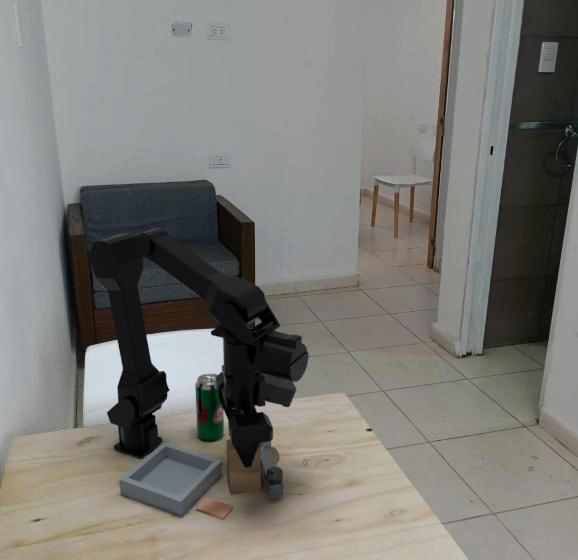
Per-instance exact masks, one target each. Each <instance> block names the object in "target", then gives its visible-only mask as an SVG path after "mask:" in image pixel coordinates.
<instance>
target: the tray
mask: <svg viewBox="0 0 578 560" xmlns="http://www.w3.org/2000/svg"><path fill="white" fill-rule="evenodd" d="M222 476H223V460H222V459H221V458H220V459H219V458H217V457H213V456H211V455H207V454H204V453H201V452H198V451H194V450H191V449H188V448H186V447H182V446H178V445H175V444H173V443H170V442H166V441H164V442H162V443H160V444H159V446H158V447H156V448H155V449H154V450H153V451H152V452H151V453H150V454H149V453H148V454H147V456H146V457H144V459H142V460H141V461H140V462H139V463H137V464H136V465H134V467H133V468H131V469H130V470H129V471H128V472H127V473H125V474H124V475H123V476H122V477H121V478H119V479H118V481H119V490H120V491H119V492H120V496H122V497H125V498H128V499H131V500H133V501H136V502H139V503H141V504H143V505H145V506H149V507H152V508H154V509H157V510H159V511H162V512H164V513H168V514H170V515H173V516H176V517H178V518H181V519H182V518H183V517H184V516H185V515H186V514H187V513H188V511H190V510H191V509H192V507H193V506H195V504H197V502H199V500H200V499H201V498H202V497H203V496H205V494H206V493H207V492H208V491H209V490H210V489H211V488H212V487H213V486H214V484H215V483H216V482H217V481H218V480H219V479H221V478H222Z"/></svg>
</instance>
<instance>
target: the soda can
mask: <svg viewBox="0 0 578 560" xmlns="http://www.w3.org/2000/svg"><path fill="white" fill-rule="evenodd" d="M218 375H219V374H217V373H210V372H209V373H204V374H201V375H199V376H198V377H197V378H196V379H197V380H196V382H195V384H194V385H195V388H194V389H195V406H196V408H195V410H196V434H197V436H198V437H199V438H200V439H201V440H203V441H205V442H214V441H217V440H219V439H221V438H222V437H223V435H224V433H225V423H224V422H225V421H224V418H225V416H224V414H225V412H224V409H223V407H222V405H221V403H220V400H219V397H218V392H217V389H216V377H217V376H218Z"/></svg>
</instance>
